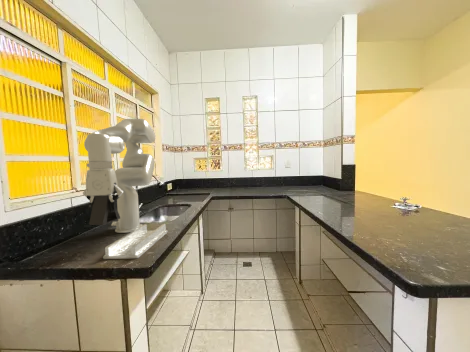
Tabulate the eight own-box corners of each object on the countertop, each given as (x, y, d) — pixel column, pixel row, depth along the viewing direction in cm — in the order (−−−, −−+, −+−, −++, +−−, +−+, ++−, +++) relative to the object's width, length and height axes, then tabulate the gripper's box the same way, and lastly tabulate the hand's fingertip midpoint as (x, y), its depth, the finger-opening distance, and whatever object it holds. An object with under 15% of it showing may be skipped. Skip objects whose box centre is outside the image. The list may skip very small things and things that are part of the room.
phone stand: (102, 225, 75) (100, 193, 74) (89, 225, 76) (86, 193, 75) (120, 218, 84) (118, 189, 83) (107, 218, 85) (105, 189, 84)
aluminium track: (103, 259, 69) (102, 247, 69) (143, 232, 97) (142, 224, 97) (137, 258, 69) (137, 246, 69) (167, 232, 97) (167, 223, 97)
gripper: (71, 167, 75) (75, 214, 76) (116, 165, 74) (120, 213, 76) (86, 166, 82) (90, 209, 84) (128, 165, 82) (131, 208, 83)
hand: (104, 211), depth 80 cm, fingers closed on phone stand, 6 cm apart
